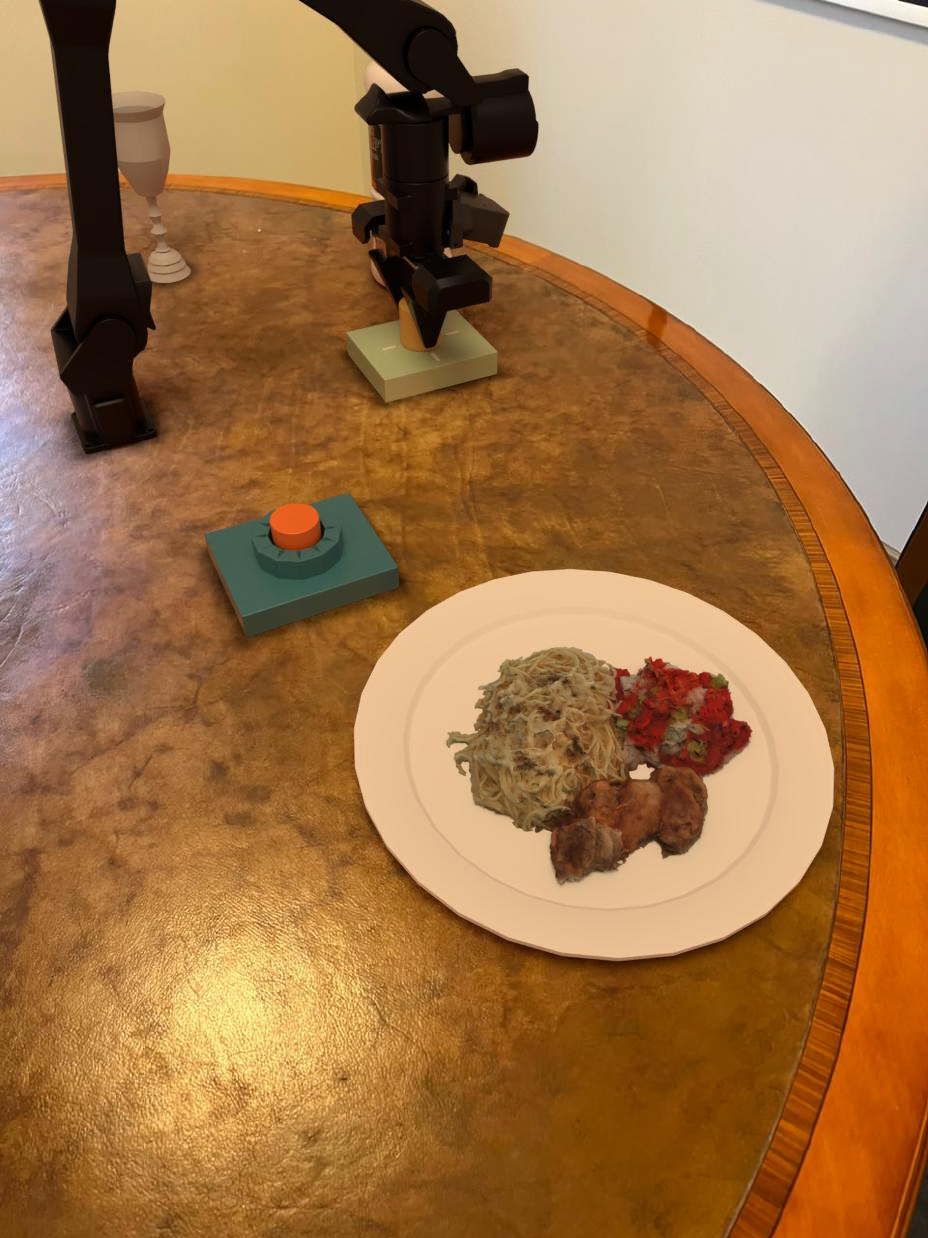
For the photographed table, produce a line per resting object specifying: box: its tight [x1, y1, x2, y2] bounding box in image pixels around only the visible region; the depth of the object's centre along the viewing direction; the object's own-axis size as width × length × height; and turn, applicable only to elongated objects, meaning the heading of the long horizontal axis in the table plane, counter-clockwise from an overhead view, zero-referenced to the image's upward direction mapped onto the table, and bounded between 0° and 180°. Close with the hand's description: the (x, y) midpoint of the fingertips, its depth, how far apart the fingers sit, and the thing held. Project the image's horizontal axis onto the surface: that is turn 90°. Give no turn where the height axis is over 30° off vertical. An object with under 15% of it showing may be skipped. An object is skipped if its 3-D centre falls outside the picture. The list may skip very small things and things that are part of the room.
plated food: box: [353, 568, 835, 962], centre depth 59 cm, size 30×30×3 cm
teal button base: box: [204, 492, 400, 638], centre depth 70 cm, size 10×12×4 cm
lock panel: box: [345, 309, 499, 404], centre depth 93 cm, size 10×12×3 cm
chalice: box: [112, 90, 192, 284], centre depth 101 cm, size 7×7×18 cm
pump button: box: [270, 502, 321, 551], centre depth 69 cm, size 4×4×2 cm
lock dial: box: [398, 297, 441, 351], centre depth 90 cm, size 4×4×4 cm
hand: (420, 336), depth 91 cm, fingers closed on lock dial, 4 cm apart
